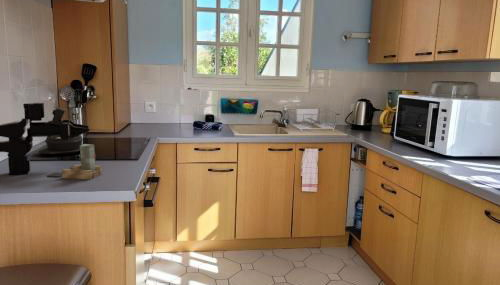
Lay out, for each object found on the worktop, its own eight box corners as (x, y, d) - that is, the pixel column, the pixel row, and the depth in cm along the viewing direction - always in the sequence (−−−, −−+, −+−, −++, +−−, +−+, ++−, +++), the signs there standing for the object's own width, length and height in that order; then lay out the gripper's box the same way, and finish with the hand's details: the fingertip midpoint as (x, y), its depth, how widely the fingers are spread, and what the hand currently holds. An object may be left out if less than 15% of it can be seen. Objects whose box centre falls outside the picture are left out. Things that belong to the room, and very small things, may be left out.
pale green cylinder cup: (76, 177, 143) (75, 145, 141) (83, 174, 148) (82, 143, 146) (93, 178, 143) (92, 146, 141) (99, 175, 147) (98, 144, 145)
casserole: (57, 159, 175) (56, 140, 174) (28, 155, 182) (27, 137, 181) (98, 150, 198) (97, 134, 197) (71, 147, 205) (70, 131, 204)
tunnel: (62, 177, 142) (61, 167, 141) (74, 172, 150) (74, 162, 149) (90, 179, 141) (90, 168, 140) (101, 174, 149) (101, 164, 148)
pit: (46, 176, 143) (46, 175, 143) (54, 173, 148) (54, 172, 148) (59, 177, 143) (59, 176, 143) (67, 174, 148) (67, 172, 148)
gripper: (42, 110, 140) (88, 110, 146) (45, 106, 156) (87, 107, 163) (43, 140, 141) (89, 139, 148) (47, 134, 158) (88, 133, 165)
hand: (88, 128), depth 156 cm, fingers open, 9 cm apart
